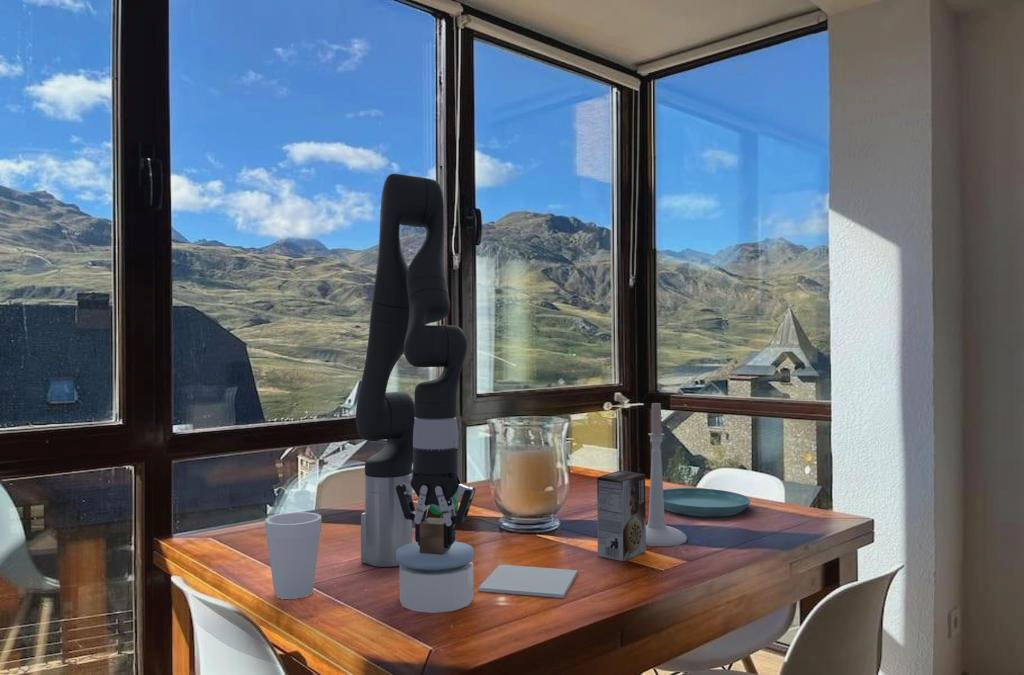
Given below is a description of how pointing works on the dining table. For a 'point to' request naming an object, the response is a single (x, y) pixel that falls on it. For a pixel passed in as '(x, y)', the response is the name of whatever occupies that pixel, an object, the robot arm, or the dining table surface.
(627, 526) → the coffee box
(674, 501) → the saucer
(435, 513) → the food container
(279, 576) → the foam cup
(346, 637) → the dining table surface
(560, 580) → the mat
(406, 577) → the bowl
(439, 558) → the lid
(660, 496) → the candlestick
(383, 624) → the dining table surface
